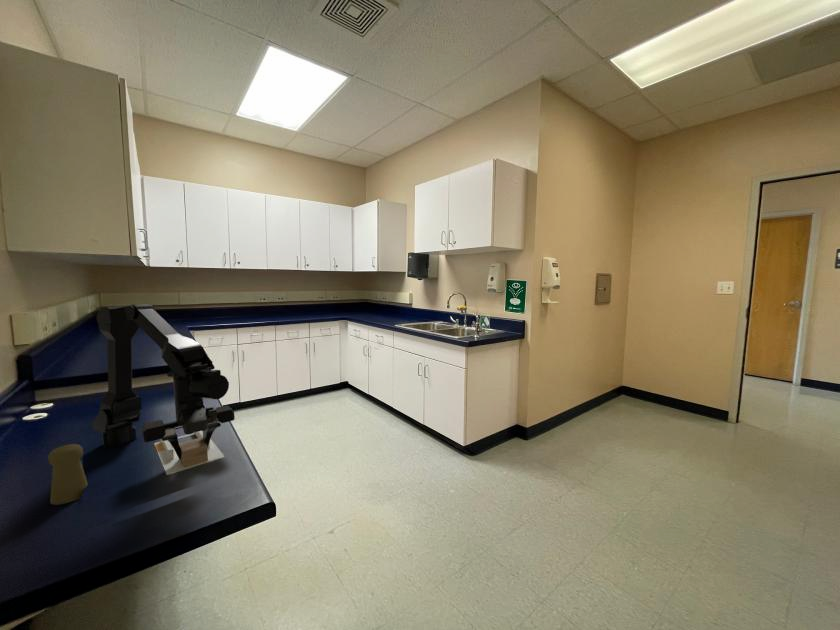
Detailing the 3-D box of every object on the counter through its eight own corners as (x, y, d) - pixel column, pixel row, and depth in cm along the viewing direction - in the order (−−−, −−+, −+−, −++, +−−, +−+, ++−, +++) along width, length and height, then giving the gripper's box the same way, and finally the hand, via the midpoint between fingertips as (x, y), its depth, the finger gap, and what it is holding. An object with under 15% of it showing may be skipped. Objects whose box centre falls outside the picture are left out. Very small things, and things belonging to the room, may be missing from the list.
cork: (54, 508, 70) (48, 456, 69) (46, 498, 74) (40, 449, 72) (93, 492, 75) (89, 444, 74) (84, 484, 79) (79, 438, 78)
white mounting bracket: (154, 448, 96) (153, 434, 95) (204, 435, 104) (203, 422, 103) (167, 481, 80) (166, 464, 79) (225, 462, 88) (224, 447, 88)
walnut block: (179, 458, 87) (178, 443, 86) (202, 451, 90) (201, 437, 90) (184, 467, 83) (182, 452, 82) (208, 460, 86) (206, 445, 86)
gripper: (144, 413, 73) (150, 483, 75) (239, 393, 86) (242, 453, 87) (138, 400, 81) (144, 463, 83) (226, 384, 94) (229, 439, 95)
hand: (192, 454), depth 87 cm, fingers closed on walnut block, 5 cm apart
